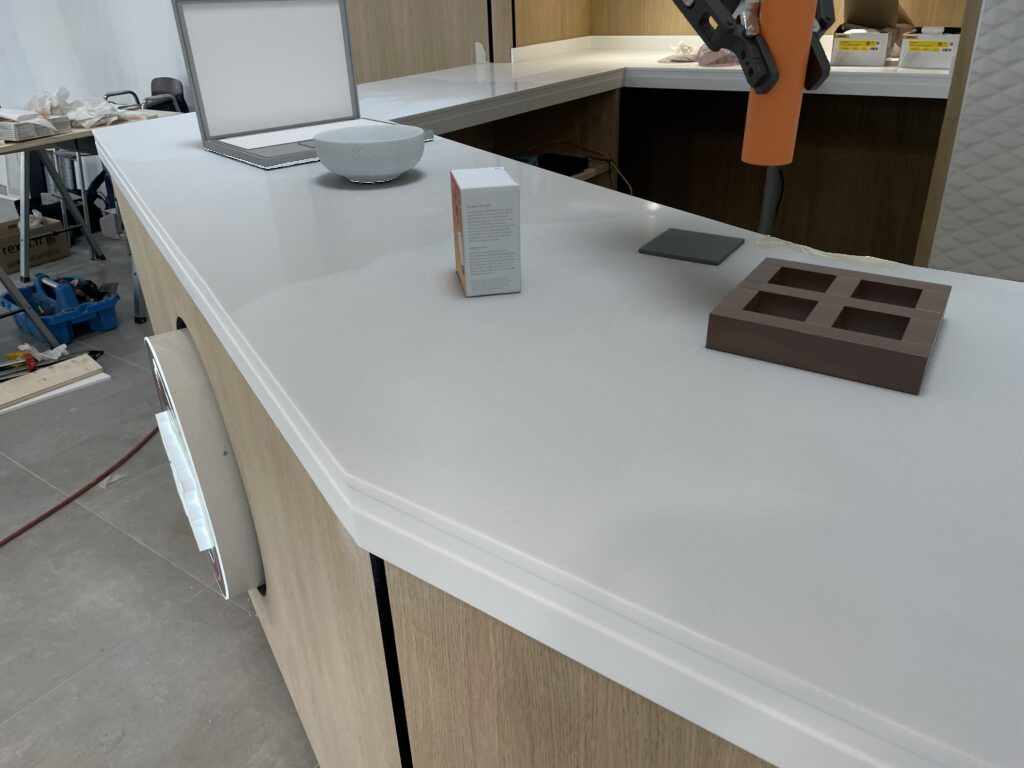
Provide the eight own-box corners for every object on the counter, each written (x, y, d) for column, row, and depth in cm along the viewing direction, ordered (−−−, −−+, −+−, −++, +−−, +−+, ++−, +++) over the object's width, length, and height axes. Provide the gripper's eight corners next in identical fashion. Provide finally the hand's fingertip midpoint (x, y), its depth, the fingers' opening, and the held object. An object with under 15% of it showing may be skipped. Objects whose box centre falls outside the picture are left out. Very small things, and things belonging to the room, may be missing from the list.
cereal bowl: (447, 171, 119) (444, 125, 115) (386, 195, 106) (380, 145, 102) (364, 163, 126) (358, 120, 122) (297, 185, 113) (289, 137, 109)
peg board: (762, 286, 71) (766, 256, 69) (943, 318, 63) (952, 285, 62) (705, 347, 59) (709, 313, 58) (918, 395, 52) (928, 357, 50)
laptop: (266, 170, 123) (234, -5, 110) (203, 149, 141) (169, -3, 128) (434, 140, 143) (422, -11, 130) (359, 125, 161) (343, -9, 148)
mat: (669, 231, 87) (670, 227, 87) (744, 242, 83) (745, 238, 83) (638, 252, 81) (638, 248, 80) (717, 265, 76) (718, 261, 76)
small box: (455, 270, 77) (448, 168, 72) (507, 265, 78) (504, 165, 73) (465, 298, 70) (458, 187, 65) (522, 292, 71) (519, 183, 66)
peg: (749, 153, 63) (770, -5, 57) (797, 158, 61) (823, -6, 55) (734, 163, 60) (754, -3, 54) (784, 168, 58) (811, -4, 52)
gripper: (663, -135, 54) (741, 55, 50) (818, -132, 58) (903, 44, 54) (625, -49, 61) (691, 124, 57) (767, -51, 65) (838, 110, 61)
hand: (794, 84), depth 56 cm, fingers closed on peg, 4 cm apart
